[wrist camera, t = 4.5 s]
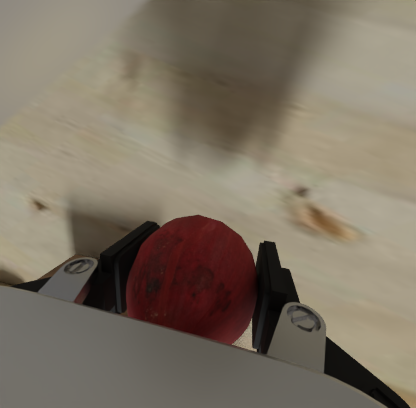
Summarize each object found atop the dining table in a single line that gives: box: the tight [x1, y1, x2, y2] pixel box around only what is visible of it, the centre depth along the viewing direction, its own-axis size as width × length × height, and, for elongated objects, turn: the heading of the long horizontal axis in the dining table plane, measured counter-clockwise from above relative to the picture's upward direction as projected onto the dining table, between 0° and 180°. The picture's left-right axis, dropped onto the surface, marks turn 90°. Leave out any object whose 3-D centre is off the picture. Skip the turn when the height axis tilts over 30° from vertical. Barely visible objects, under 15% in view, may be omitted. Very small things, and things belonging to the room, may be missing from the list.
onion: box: [126, 215, 259, 345], centre depth 9 cm, size 6×6×8 cm
